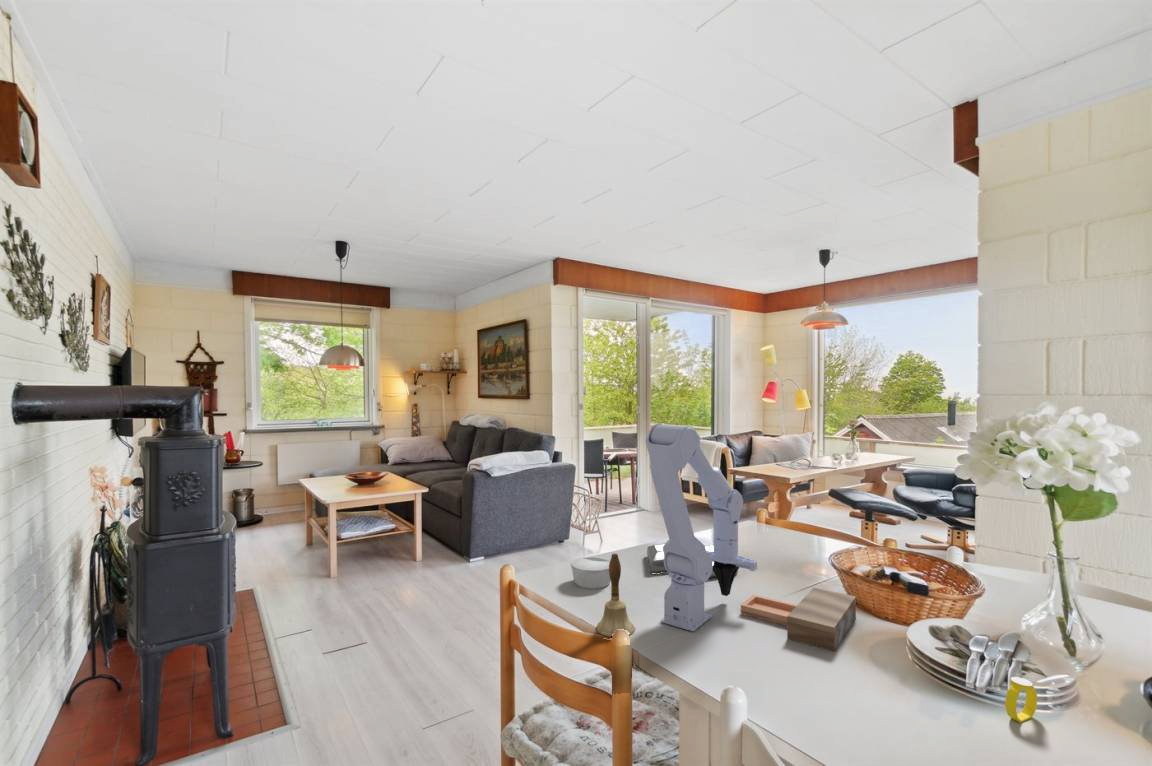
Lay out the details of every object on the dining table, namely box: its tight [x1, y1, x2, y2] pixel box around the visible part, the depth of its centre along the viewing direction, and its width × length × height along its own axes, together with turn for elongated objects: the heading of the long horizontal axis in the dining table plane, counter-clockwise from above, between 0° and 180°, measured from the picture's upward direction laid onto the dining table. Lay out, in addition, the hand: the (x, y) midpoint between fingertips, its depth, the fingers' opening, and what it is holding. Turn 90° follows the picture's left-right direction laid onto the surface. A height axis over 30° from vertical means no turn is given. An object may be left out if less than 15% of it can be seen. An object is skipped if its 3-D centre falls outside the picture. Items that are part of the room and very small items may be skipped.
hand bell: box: [595, 553, 636, 638], centre depth 118 cm, size 8×8×16 cm
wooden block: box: [786, 587, 857, 652], centre depth 119 cm, size 20×9×5 cm, turn 142°
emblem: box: [646, 543, 739, 579], centre depth 160 cm, size 28×5×28 cm
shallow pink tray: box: [740, 594, 798, 627], centre depth 126 cm, size 8×12×2 cm, turn 52°
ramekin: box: [570, 556, 611, 590], centre depth 146 cm, size 11×11×5 cm
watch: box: [1004, 676, 1038, 723], centre depth 87 cm, size 6×3×6 cm, turn 114°
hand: (725, 594), depth 133 cm, fingers closed
